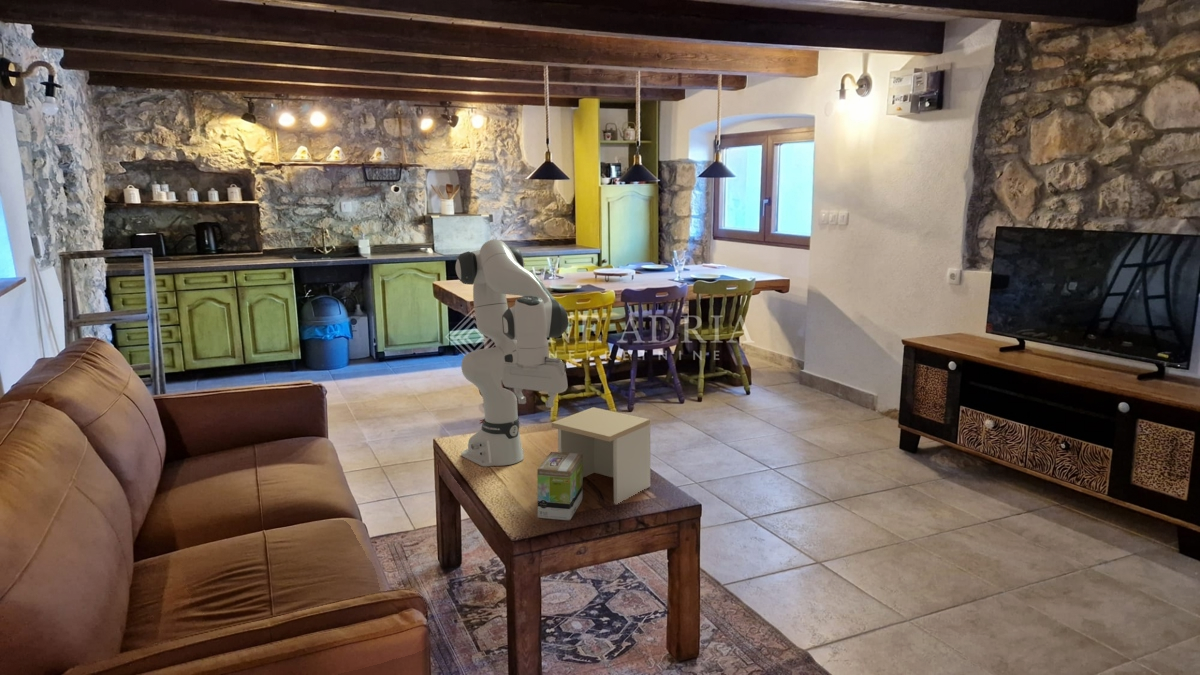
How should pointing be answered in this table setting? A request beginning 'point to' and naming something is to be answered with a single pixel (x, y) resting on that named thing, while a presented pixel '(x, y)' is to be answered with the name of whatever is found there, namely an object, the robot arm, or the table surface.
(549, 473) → the tea box
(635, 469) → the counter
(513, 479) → the table surface
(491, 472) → the table surface
